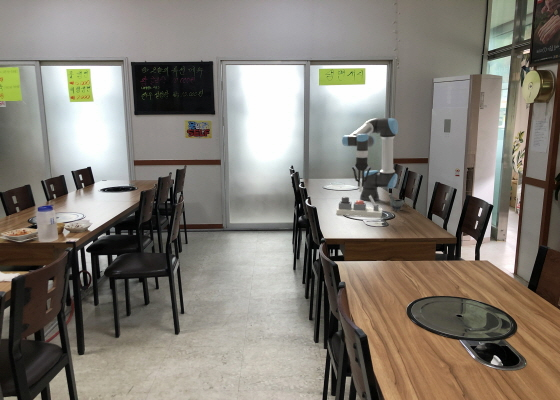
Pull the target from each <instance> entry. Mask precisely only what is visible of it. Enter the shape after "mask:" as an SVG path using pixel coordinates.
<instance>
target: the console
mask: <svg viewBox="0 0 560 400" xmlns="http://www.w3.org/2000/svg"><path fill="white" fill-rule="evenodd" d="M346 214H349V215H348V216H354V215H361V216H360V217H371V218H372V217H373V218H374V217H375V218H382V215H383V208H382V207H379V204H376V206H373V207H371V206H370V207H368V206H367V202H364V204H356V201H354V202H353V205H352V201H349V204H347V203H342V200H339V203H338V207H337V209H336V214H335V215H339V216H341V215H342V216H347V215H346Z"/></svg>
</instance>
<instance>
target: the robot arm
mask: <svg viewBox="0 0 560 400" xmlns="http://www.w3.org/2000/svg"><path fill="white" fill-rule="evenodd" d="M398 133H399V123H398V121H397V119H396V118H391V117H375V118H371V119H369V120H367V121H365V122H364V123H362V125H361V126H360V127H359V128H357V130H354V131H353V132H352V133H351V134H349V135H343V136H342V140H341V143H342V146H345V147H356V151H355V152H356V158H355V165H353V166H352V168H351V169H352V171H353V175H354V180H355V182H357V187H359V188H358V189H359V192H360V193H361V194H359V195H360V196H359V200H361V201H367V202H368V201H369V202H371V200H370V198H369V196H372V198H373V200H374V202H375V201H376V202H377V201H379V200H380V195H379V192H378V188H381V189H382V188H384V189H385V188H386V189H394V188H395V187H396V186H397V182H398V177H399V176H398V174H397V173H396V170H395V169H394V138H395V137H396V135H398ZM371 134H377V135H378V134H379V137H380V138H381V169H380V170H376V169H375V170H373V169H372V167H371V166H370V165H368V161H369V160H368V154H369V148H371V147H373V146H374V145H375V144H376V138H375V136H372V135H371ZM356 169H357V170H358V171H357V170H356ZM366 169H367V170H366ZM356 171H357V172H358V174H357V172H356ZM361 171H362V173H361ZM357 175H358V176H357Z"/></svg>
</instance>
